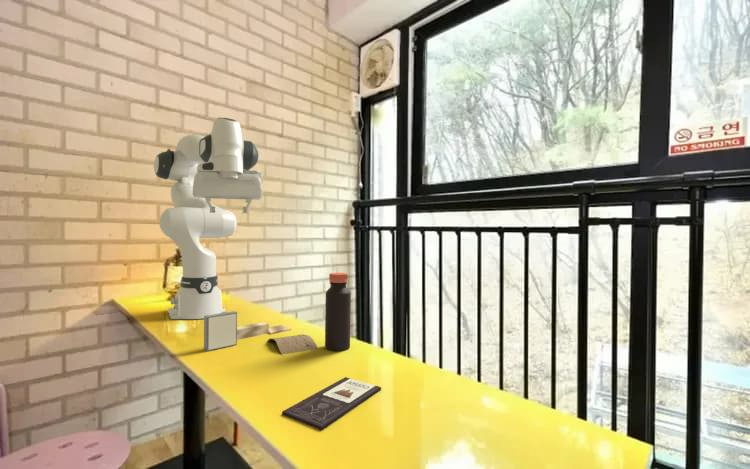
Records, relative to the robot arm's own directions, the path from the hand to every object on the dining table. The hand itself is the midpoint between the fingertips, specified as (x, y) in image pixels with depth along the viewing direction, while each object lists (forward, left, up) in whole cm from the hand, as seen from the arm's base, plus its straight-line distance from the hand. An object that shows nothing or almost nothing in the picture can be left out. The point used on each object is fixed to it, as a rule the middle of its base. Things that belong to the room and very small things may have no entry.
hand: (229, 212), depth 114 cm
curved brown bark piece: (+25, +7, -37) cm, 46 cm away
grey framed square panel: (+14, -8, -37) cm, 40 cm away
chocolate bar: (+59, -5, -37) cm, 70 cm away
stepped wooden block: (+9, +6, -37) cm, 38 cm away
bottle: (+35, +15, -37) cm, 53 cm away
